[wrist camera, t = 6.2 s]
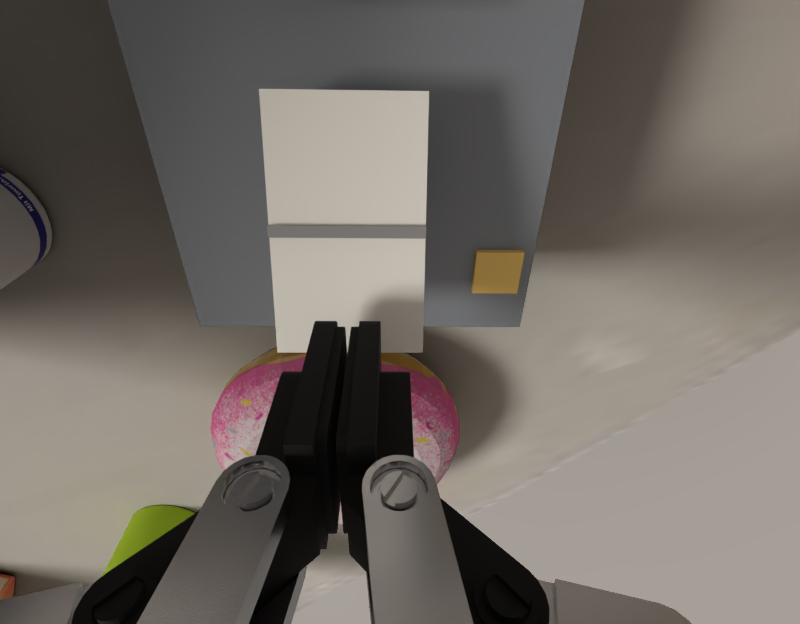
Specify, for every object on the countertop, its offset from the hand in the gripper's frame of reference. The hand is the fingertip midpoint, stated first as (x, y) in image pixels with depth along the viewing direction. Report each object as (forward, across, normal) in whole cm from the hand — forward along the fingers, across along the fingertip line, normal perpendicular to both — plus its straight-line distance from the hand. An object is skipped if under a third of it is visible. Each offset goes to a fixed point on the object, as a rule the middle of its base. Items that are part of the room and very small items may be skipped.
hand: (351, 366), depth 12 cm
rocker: (+2, 0, -3) cm, 4 cm away
